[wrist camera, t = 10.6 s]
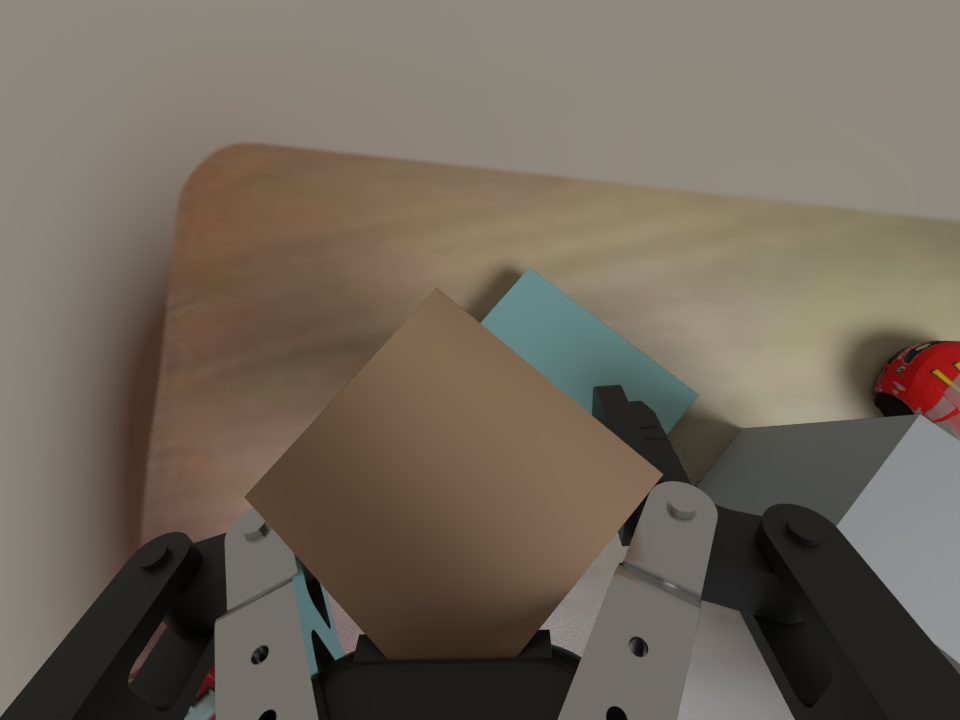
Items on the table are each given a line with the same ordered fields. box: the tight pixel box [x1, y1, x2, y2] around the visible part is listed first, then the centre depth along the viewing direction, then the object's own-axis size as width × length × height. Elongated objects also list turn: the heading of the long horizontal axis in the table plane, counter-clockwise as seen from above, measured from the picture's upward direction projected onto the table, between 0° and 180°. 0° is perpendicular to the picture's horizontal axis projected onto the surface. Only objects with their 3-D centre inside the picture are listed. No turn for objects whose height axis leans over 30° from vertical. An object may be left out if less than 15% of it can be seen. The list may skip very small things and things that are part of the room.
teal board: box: [480, 267, 699, 435], centre depth 22 cm, size 18×11×2 cm, turn 139°
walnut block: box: [245, 287, 663, 660], centre depth 12 cm, size 5×5×10 cm
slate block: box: [696, 414, 960, 674], centre depth 16 cm, size 5×5×10 cm
